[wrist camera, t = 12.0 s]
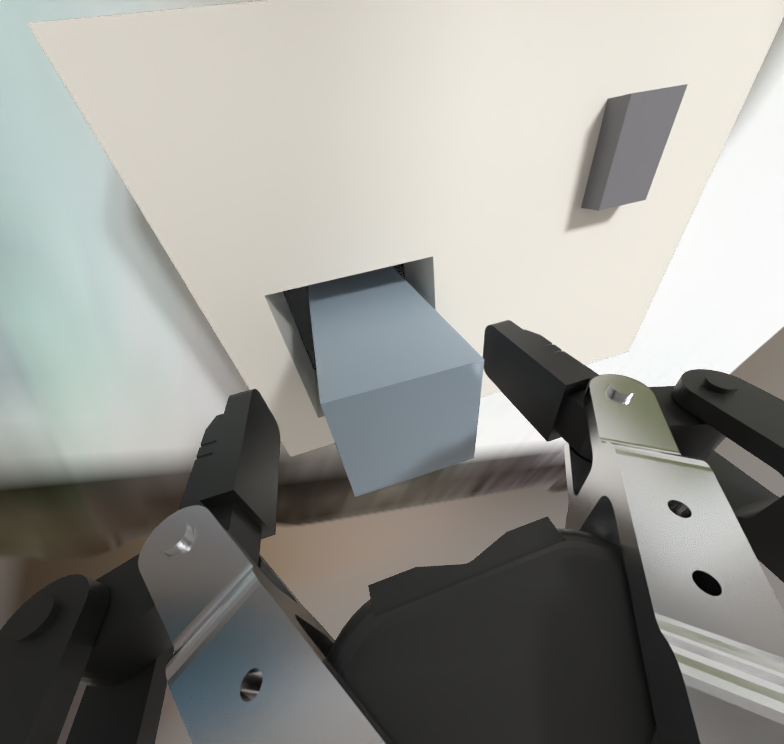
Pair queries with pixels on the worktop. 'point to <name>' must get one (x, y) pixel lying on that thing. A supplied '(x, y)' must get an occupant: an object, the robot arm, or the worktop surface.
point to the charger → (392, 379)
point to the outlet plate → (416, 157)
